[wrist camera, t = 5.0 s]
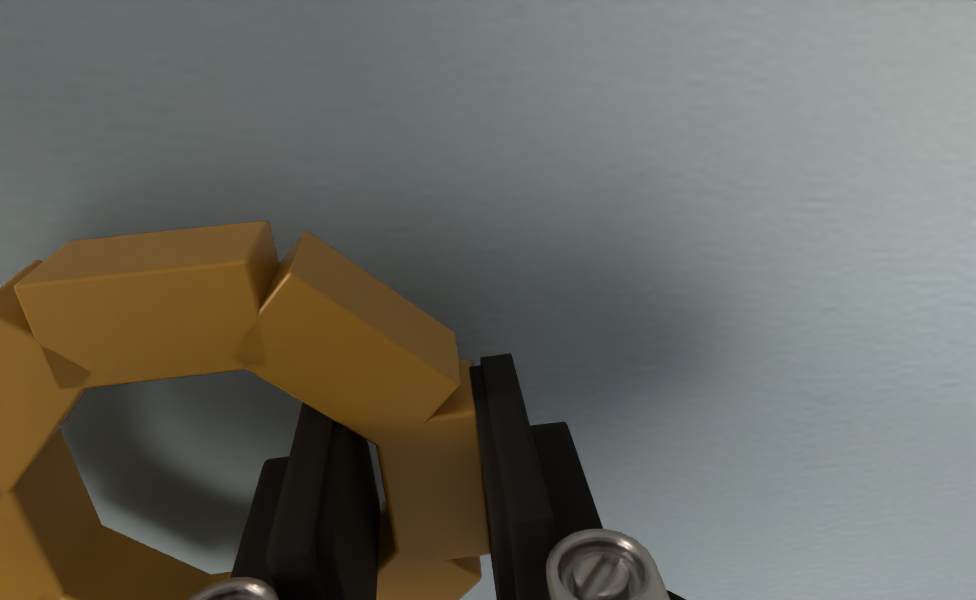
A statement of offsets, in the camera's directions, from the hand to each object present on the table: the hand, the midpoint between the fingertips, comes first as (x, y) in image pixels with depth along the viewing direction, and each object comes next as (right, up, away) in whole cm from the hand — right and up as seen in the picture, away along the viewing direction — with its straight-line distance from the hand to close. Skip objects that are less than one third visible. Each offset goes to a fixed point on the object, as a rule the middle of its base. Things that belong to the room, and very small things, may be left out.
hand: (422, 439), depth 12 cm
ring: (-3, 0, 0) cm, 3 cm away
